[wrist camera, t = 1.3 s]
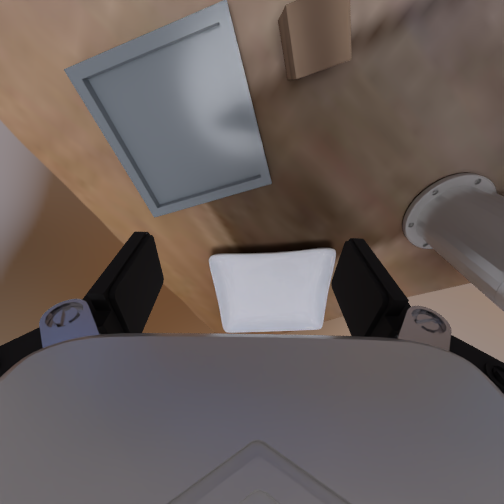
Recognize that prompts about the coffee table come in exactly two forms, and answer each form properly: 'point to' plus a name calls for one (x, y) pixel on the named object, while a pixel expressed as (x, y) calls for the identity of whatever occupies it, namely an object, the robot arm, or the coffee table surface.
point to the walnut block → (315, 35)
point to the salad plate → (272, 289)
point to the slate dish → (178, 111)
